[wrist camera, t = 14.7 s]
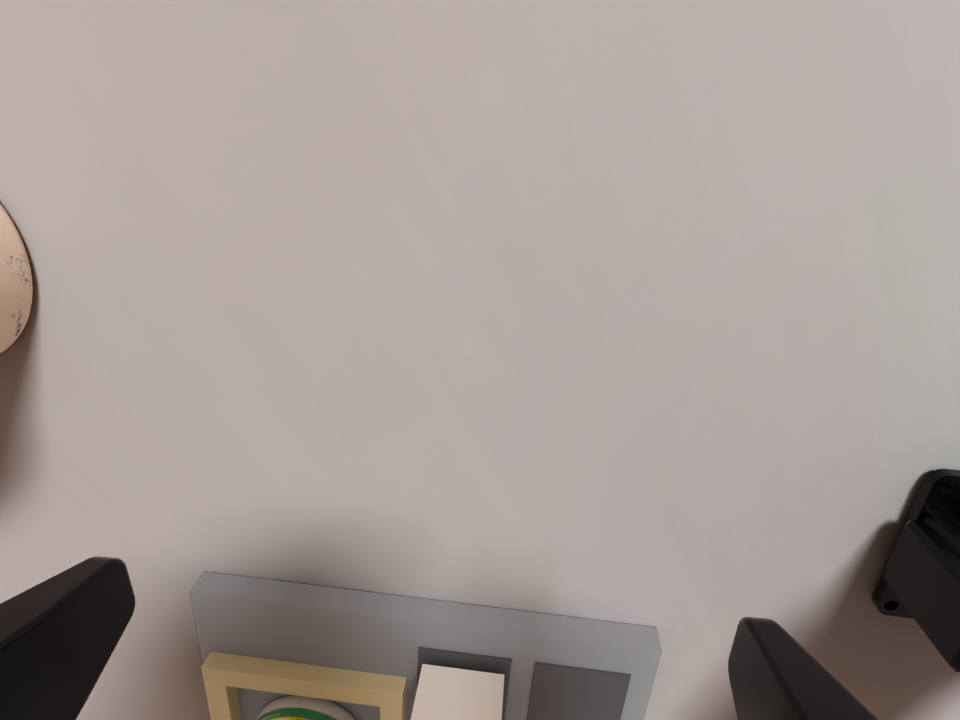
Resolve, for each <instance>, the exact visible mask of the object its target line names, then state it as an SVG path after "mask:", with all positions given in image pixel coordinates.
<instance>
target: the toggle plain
mask: <svg viewBox="0 0 960 720" xmlns="http://www.w3.org/2000/svg"><path fill="white" fill-rule="evenodd" d="M503 689H504V674H496V673H489V672H481V671H473V670H466V669H458V668H451V667H443V666H435V665H428V664H422V668H421V673H420V678H419V682H418V687H417V692H416V696H415V701H414V706H413V711H412V715H411V720H502V705H503Z"/></svg>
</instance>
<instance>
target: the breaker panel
mask: <svg viewBox="0 0 960 720" xmlns="http://www.w3.org/2000/svg"><path fill="white" fill-rule="evenodd" d="M189 593H190V598H191V604H192V609H193V615H194V620H195V626H196V631H197V637H198V642H199V648H200V653H201V659H202V664H203V665H202V666H201V670H202V675H203V681H204V686H205V691H206V697H207V702H208V708H209V713H210V719H211V720H256V719H257V717H258V715H259V714H260V712H261V711H262V710H263V709H264V708H265V707H266V706H267V705H269V704H270V703H271V702H273V701H275V700H277V699H280V698H283V697H287V696H292V695H297V696H304V697H311V698H319V699H325V700H328V701H330V702H333V703H335V704H337V705H338V706H340V707H342V708H343V709H344V710H346V711H347V712H348V713H349V714H350V715H351V716H352V717H353V718H354V719H355V720H411V715H412V711H413V706H414V701H415V696H416V692H417V687H418V682H419V678H420V673H421V668H422V664H428V665H435V666H443V667H451V668H458V669H466V670H473V671H481V672H489V673H496V674H504V689H503V705H502V720H644V716H645V712H646V708H647V705H648V701H649V697H650V693H651V690H652V686H653V682H654V679H655V675H656V671H657V667H658V664H659V660H660V656H661V652H662V651H661V646H660V642H659V637H658V633H657V629H656V627H649V626H641V625H633V624H625V623H616V622H608V621H600V620H592V619H584V618H576V617H568V616H560V615H552V614H544V613H536V612H528V611H519V610H511V609H503V608H495V607H487V606H479V605H471V604H463V603H455V602H447V601H439V600H431V599H422V598H414V597H406V596H398V595H390V594H382V593H374V592H366V591H358V590H350V589H342V588H334V587H326V586H317V585H309V584H301V583H293V582H285V581H277V580H269V579H261V578H253V577H245V576H237V575H229V574H220V573H212V572H204V573H203V574H202V575H201V577H200V578H199V579H198V581H197V582H196V584H195V585H194V586H193V588H192V589H191V590H190V592H189Z"/></svg>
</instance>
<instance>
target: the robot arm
mask: <svg viewBox="0 0 960 720" xmlns="http://www.w3.org/2000/svg"><path fill="white" fill-rule="evenodd" d="M944 482H947V483H946V484H945V485H943V486H941V487H939V486H940V485H941V484H942V483H944ZM872 601H873V603H874V605H875V606H876V608H877V609H878V611H879V612H881V613H882V614H885V615H891V616H899V617H907V618H914V619H915V620H916V622H917V623H918V624H919V626H920V627H921V628H922V630H923V631H924V632H925V634H926V635H927V636H928V638H929V639H930V640H931V642H932V643H933V644H934V646H935V647H936V648H937V650H938V651H939V652H940V654H941V655H942V656H943V658H944V659H945V660H946V662H947V663H948V664H949V666H950V667H951V668H952V669H953V670H954V671H955V672H960V470H950V469H938V470H936V471H933V472H931V473H930V474H929V475H928V476H927V477H926V478H925V480H924V482H923V485H922V487H921V489H920V491H919V494H918V496H917V498H916V500H915V502H914V505H913V507H912V509H911V511H910V514H909V516H908V518H907V520H906V522H905V525H904V527H903V529H902V531H901V534H900V536H899V538H898V540H897V543H896V545H895V547H894V549H893V551H892V554H891V556H890V558H889V560H888V563H887V565H886V567H885V569H884V571H883V574H882V576H881V578H880V580H879V583H878V585H877V587H876V589H875V591H874V594H873V596H872ZM888 601H889V602H888ZM134 608H135V596H134V592H133V589H132V585H131V582H130V578H129V574H128V571H127V567H126V565H125V563H124V562H123V561H122V560H121V559H118V558H109V557H92V558H89V559H87V560H85V561H83V562H81V563H79V564H77V565H75V566H73V567H71V568H69V569H67V570H65V571H64V572H62V573H60V574H58V575H56V576H54V577H52V578H50V579H48V580H46V581H44V582H42V583H40V584H38V585H36V586H34V587H32V588H30V589H28V590H27V591H25V592H23V593H21V594H19V595H17V596H15V597H13V598H11V599H9V600H7V601H5V602H3V603H1V604H0V720H76V718H77V716H78V715H79V713H80V711H81V709H82V708H83V706H84V704H85V703H86V701H87V699H88V697H89V695H90V693H91V691H92V690H93V688H94V686H95V684H96V682H97V680H98V678H99V677H100V675H101V673H102V671H103V669H104V667H105V665H106V664H107V662H108V660H109V658H110V656H111V654H112V652H113V651H114V649H115V647H116V645H117V643H118V641H119V639H120V637H121V636H122V634H123V632H124V630H125V628H126V626H127V624H128V623H129V621H130V619H131V617H132V615H133V612H134ZM728 670H729V678H730V683H731V688H732V693H733V698H734V703H735V708H736V713H737V718H738V720H878V719H877V718H875V717H874V716H873V715H872V714H871V713H870V712H869V711H868V710H867V709H866V708H865V707H864V706H863V705H862V704H861V703H860V702H859V701H858V700H857V699H856V698H855V697H854V696H853V695H852V694H851V693H850V692H848V691H847V690H846V689H845V688H844V687H843V686H842V685H841V684H840V683H839V682H838V681H837V680H836V679H835V678H834V677H833V676H832V675H831V674H830V673H829V672H828V671H827V670H826V669H825V668H824V667H823V666H821V665H820V664H819V663H818V662H817V661H816V660H815V659H814V658H813V657H812V656H811V655H810V654H809V653H808V652H807V651H806V650H805V649H804V648H803V647H802V646H801V645H800V644H799V643H798V642H797V641H796V640H795V639H793V638H792V637H791V636H790V635H789V634H788V633H787V632H786V631H785V630H784V629H783V628H782V627H781V626H780V625H779V624H778V623H776V622H775V621H773V620H771V619H763V618H753V617H744V618H742V619H741V620H740V622H739V624H738V627H737V631H736V634H735V638H734V641H733V645H732V649H731V652H730V656H729V662H728Z"/></svg>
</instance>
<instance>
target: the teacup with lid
mask: <svg viewBox="0 0 960 720" xmlns="http://www.w3.org/2000/svg"><path fill="white" fill-rule="evenodd" d="M32 294H33V286H32V275H31V268H30V264H29V260H28V256H27V253H26V250H25V247H24V245H23V242H22V240H21V238H20V235H19V233H18V231H17V229H16V227H15V225H14V223H13V222H12V220H11V218H10V217H9V215H8V214H7V212H6V210H5V209H4V208H3V206H2V205H1V203H0V353H2V352H3V351H5V350H6V349H7V348H9V347H10V346H11V345H12V344H13V343H14V342H15V340H16V339H17V338H18V337H19V335H20V334H21V332H22V331H23V329H24V327H25V325H26V323H27V320H28V317H29V314H30V310H31V304H32Z"/></svg>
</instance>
